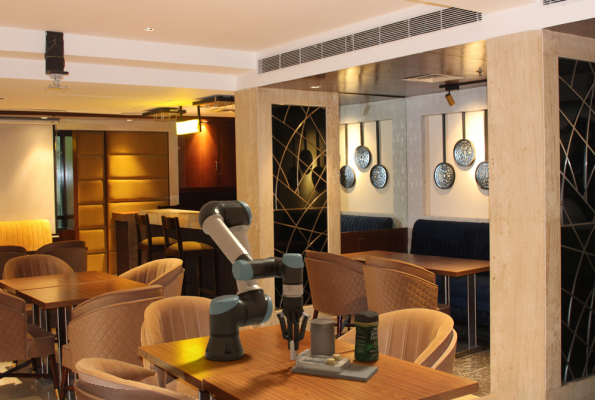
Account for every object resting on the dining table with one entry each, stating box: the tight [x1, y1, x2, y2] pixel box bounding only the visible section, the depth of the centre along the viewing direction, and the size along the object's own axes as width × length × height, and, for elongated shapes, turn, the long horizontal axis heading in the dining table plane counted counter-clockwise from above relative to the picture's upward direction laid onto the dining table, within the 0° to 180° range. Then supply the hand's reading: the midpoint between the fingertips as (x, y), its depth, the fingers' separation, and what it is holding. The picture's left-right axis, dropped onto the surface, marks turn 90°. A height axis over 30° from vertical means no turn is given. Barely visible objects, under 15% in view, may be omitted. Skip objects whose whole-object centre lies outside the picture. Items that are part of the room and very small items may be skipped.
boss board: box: [291, 353, 379, 383], centre depth 207 cm, size 28×14×5 cm, turn 66°
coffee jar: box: [353, 310, 380, 363], centre depth 222 cm, size 10×8×19 cm
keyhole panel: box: [295, 348, 351, 373], centre depth 209 cm, size 17×11×4 cm, turn 66°
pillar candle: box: [309, 317, 336, 357], centre depth 228 cm, size 10×10×15 cm
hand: (293, 358), depth 214 cm, fingers closed
